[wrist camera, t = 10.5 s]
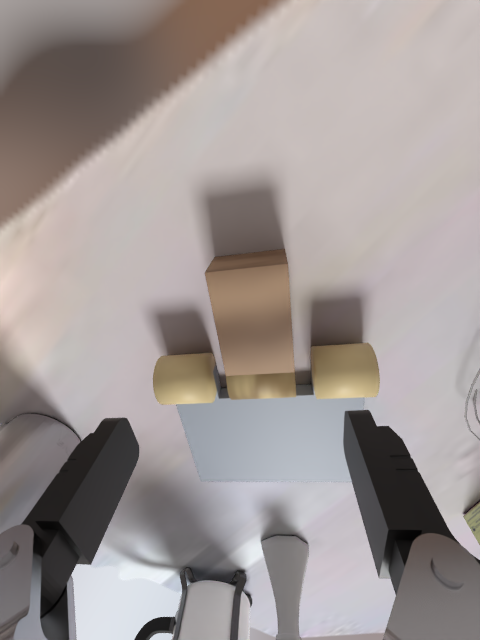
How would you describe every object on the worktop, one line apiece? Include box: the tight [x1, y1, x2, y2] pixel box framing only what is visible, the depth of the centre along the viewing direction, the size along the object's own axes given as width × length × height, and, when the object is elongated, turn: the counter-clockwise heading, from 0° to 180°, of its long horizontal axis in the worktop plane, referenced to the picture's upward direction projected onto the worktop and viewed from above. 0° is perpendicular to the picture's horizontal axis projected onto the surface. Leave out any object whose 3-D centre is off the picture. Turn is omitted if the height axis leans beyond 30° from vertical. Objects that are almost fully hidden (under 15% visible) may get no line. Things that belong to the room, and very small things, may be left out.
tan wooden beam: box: [205, 249, 296, 400], centre depth 23 cm, size 12×6×4 cm, turn 8°
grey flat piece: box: [153, 343, 380, 482], centre depth 28 cm, size 18×18×4 cm
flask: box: [261, 536, 309, 640], centre depth 37 cm, size 7×7×10 cm
